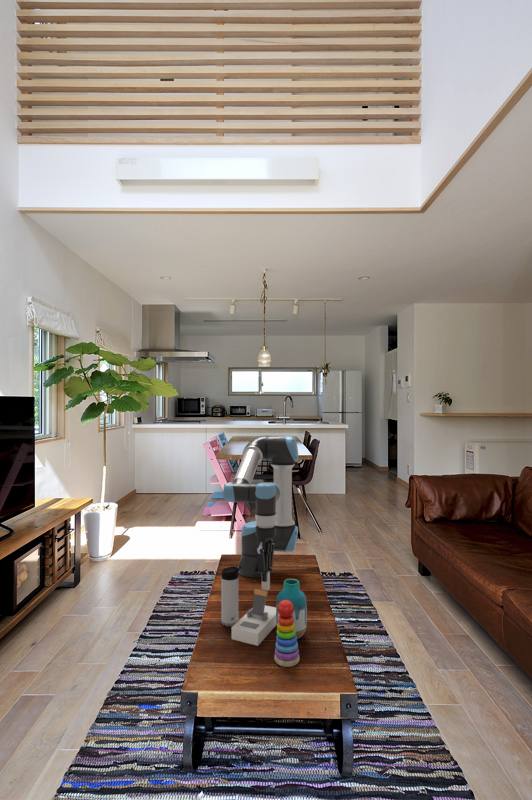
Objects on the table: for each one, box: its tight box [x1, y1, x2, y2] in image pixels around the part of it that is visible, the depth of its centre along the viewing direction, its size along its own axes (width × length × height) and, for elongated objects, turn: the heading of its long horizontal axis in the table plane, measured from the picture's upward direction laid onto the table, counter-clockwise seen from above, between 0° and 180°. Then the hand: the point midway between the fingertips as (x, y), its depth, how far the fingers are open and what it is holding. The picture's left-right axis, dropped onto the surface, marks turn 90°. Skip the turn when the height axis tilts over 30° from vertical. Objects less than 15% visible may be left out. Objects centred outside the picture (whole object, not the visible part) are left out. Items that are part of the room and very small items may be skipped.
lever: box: [251, 588, 269, 618], centre depth 164 cm, size 2×4×9 cm, turn 65°
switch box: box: [231, 604, 277, 647], centre depth 162 cm, size 20×10×6 cm, turn 155°
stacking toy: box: [273, 600, 301, 668], centre depth 143 cm, size 8×8×19 cm
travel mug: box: [220, 566, 240, 627], centre depth 167 cm, size 6×7×20 cm
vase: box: [275, 578, 308, 640], centre depth 157 cm, size 11×11×19 cm
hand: (265, 589), depth 169 cm, fingers closed
